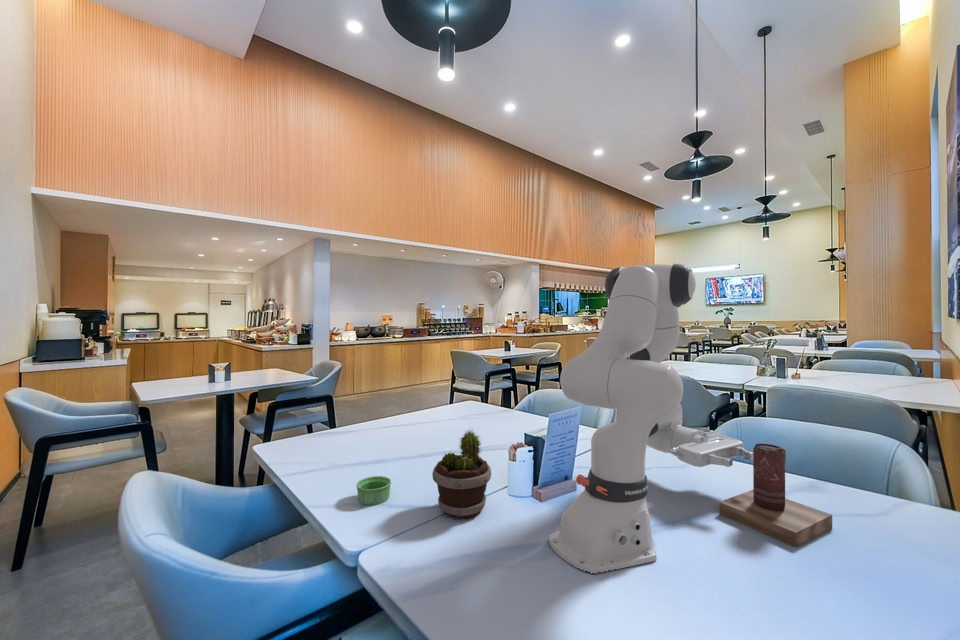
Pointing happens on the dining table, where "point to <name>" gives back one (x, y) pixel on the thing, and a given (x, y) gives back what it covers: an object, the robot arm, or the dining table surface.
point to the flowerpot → (462, 479)
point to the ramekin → (373, 490)
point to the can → (769, 476)
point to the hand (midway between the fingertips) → (742, 460)
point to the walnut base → (777, 518)
